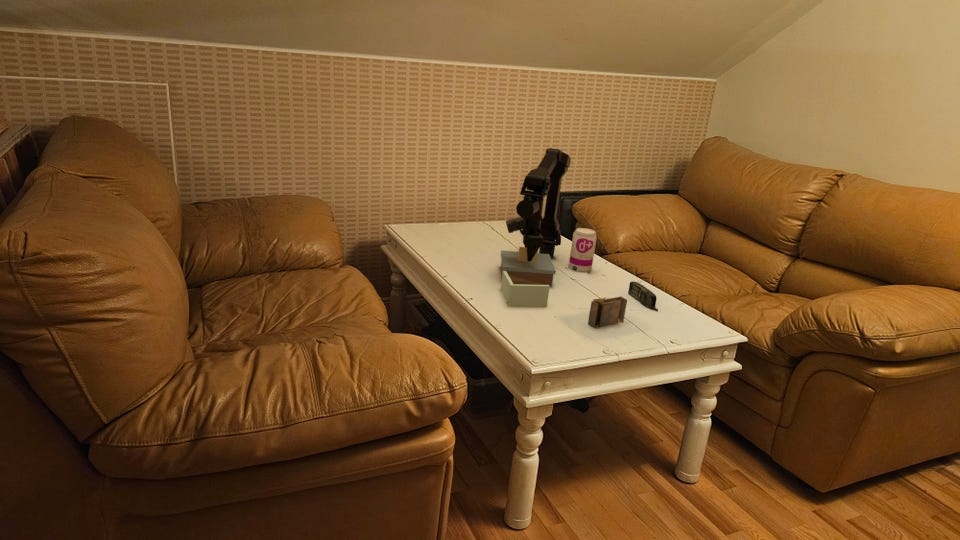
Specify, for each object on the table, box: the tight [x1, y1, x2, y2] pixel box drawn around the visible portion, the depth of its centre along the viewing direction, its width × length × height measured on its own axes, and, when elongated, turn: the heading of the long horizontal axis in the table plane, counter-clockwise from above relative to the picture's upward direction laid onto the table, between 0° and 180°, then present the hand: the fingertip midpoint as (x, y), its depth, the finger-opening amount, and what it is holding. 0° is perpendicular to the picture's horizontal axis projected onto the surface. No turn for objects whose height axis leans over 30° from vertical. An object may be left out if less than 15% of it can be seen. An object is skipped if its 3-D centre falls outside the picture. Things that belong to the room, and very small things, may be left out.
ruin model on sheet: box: [587, 296, 628, 329], centre depth 174 cm, size 11×3×10 cm, turn 120°
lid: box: [500, 246, 557, 275], centre depth 202 cm, size 17×17×5 cm
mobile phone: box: [628, 281, 659, 312], centre depth 193 cm, size 5×3×15 cm
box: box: [500, 259, 554, 288], centre depth 203 cm, size 16×16×6 cm
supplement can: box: [568, 227, 597, 274], centre depth 215 cm, size 8×8×15 cm
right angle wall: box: [500, 271, 551, 308], centre depth 186 cm, size 12×12×8 cm
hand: (527, 256), depth 202 cm, fingers open, 9 cm apart
